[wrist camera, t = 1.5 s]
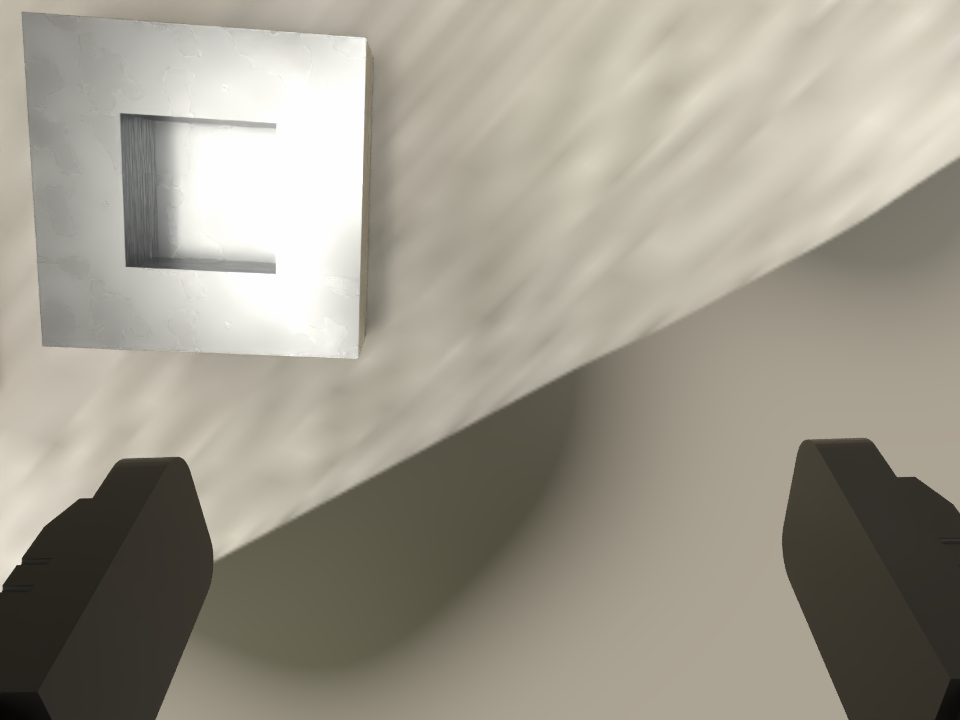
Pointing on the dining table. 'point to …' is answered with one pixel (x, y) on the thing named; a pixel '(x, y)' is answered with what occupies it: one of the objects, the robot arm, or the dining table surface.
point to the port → (199, 186)
